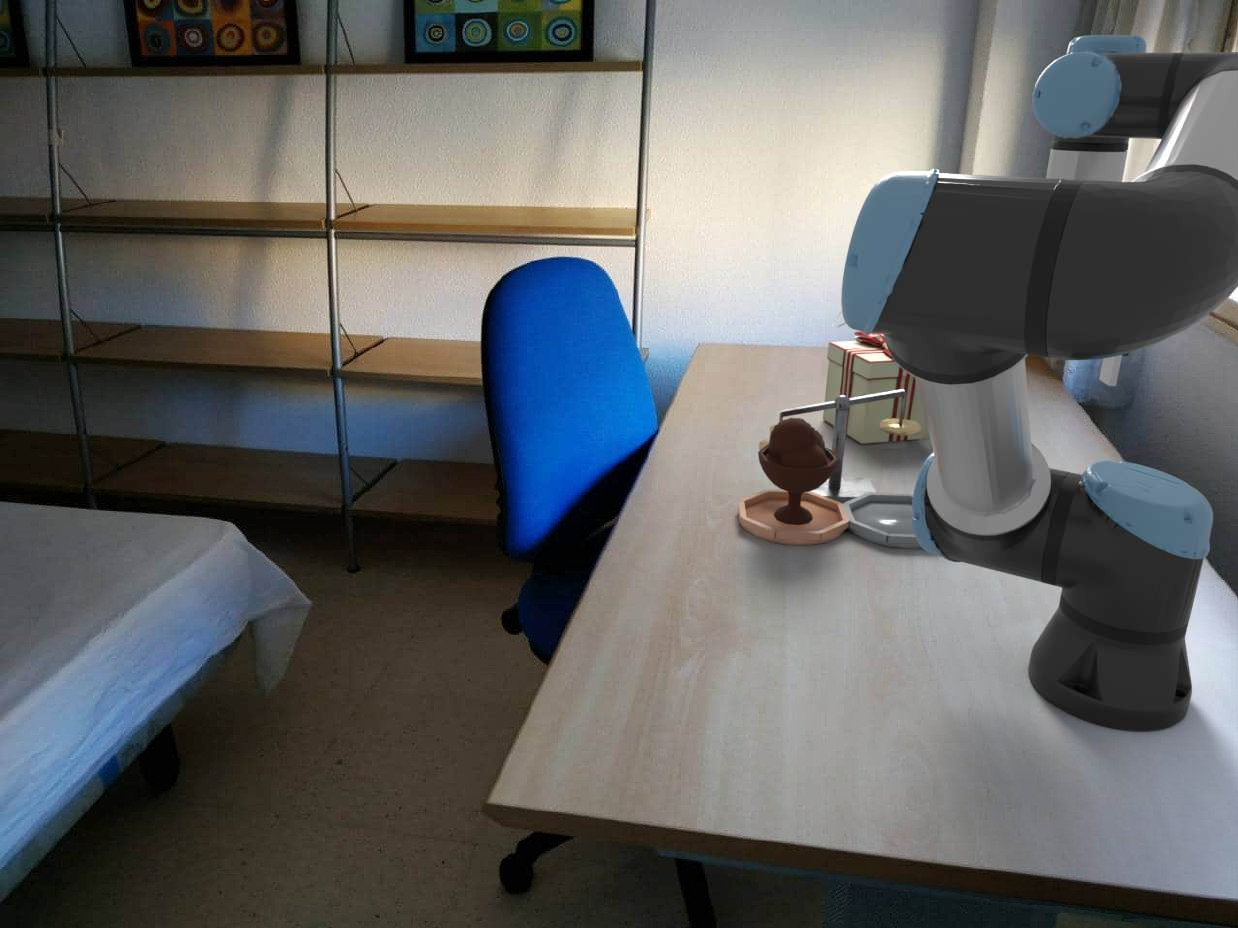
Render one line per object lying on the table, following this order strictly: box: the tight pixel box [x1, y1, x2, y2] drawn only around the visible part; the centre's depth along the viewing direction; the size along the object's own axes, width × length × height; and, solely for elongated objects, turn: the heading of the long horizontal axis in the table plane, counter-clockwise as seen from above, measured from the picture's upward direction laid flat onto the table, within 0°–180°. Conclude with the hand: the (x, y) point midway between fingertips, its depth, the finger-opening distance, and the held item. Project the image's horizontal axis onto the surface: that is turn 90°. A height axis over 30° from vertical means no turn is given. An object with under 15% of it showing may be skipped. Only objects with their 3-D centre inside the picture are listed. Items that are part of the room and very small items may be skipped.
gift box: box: [822, 330, 930, 445], centre depth 176 cm, size 17×18×17 cm
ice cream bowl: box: [757, 417, 839, 525], centre depth 137 cm, size 11×11×15 cm
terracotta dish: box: [737, 488, 849, 546], centre depth 139 cm, size 15×15×2 cm
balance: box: [758, 389, 921, 504], centre depth 147 cm, size 8×24×17 cm, turn 86°
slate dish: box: [843, 492, 924, 550], centre depth 139 cm, size 15×15×2 cm
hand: (1047, 382), depth 113 cm, fingers open, 13 cm apart
